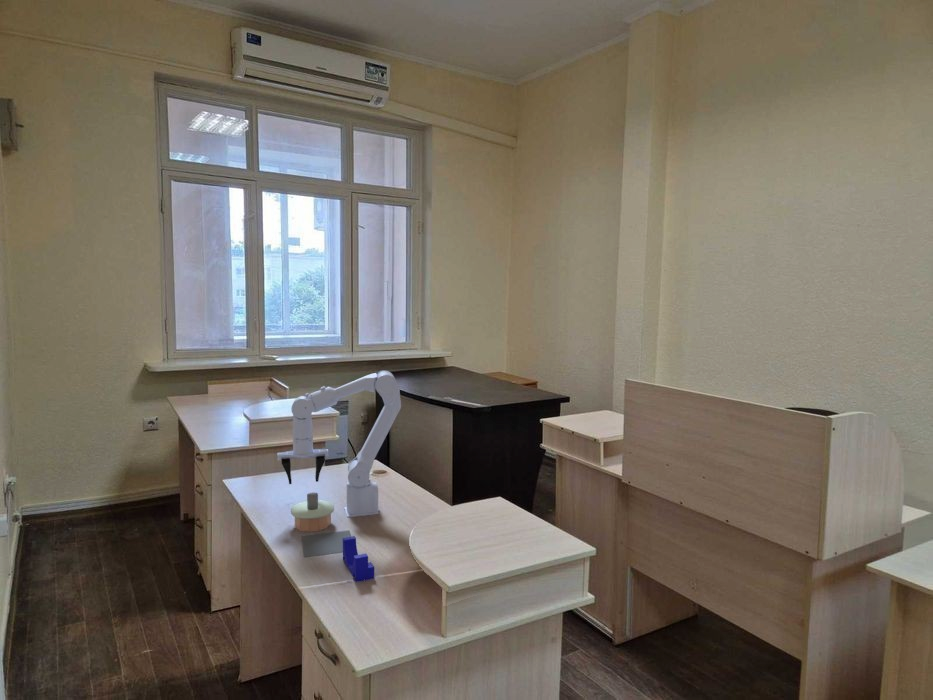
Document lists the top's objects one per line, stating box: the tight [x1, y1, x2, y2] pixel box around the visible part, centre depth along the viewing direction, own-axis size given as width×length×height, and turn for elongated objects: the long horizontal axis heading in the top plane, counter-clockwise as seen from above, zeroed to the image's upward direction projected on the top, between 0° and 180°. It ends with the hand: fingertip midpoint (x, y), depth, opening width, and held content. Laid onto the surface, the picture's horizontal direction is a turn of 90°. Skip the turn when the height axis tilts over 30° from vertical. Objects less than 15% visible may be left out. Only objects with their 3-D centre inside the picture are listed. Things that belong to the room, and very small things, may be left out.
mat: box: [301, 529, 352, 558], centre depth 155 cm, size 13×13×1 cm
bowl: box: [294, 513, 332, 533], centre depth 167 cm, size 10×10×4 cm
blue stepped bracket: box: [342, 535, 375, 583], centre depth 142 cm, size 12×4×6 cm, turn 26°
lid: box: [290, 492, 335, 519], centre depth 166 cm, size 12×12×5 cm
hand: (303, 481), depth 173 cm, fingers open, 7 cm apart
